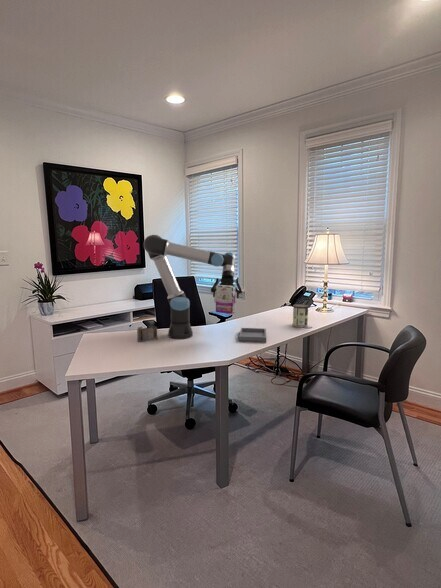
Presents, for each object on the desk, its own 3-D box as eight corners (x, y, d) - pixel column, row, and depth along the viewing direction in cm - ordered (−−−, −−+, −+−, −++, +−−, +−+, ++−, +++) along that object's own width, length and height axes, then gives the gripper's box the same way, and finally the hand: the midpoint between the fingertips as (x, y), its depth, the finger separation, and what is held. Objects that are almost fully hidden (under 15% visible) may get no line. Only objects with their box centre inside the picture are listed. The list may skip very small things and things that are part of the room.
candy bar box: (235, 312, 214) (236, 285, 210) (232, 314, 209) (232, 287, 206) (218, 310, 218) (218, 284, 215) (215, 312, 213) (215, 285, 210)
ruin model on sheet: (139, 343, 205) (138, 326, 203) (137, 341, 208) (137, 325, 206) (157, 340, 210) (157, 324, 209) (156, 339, 213) (155, 323, 211)
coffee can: (301, 322, 253) (302, 303, 251) (310, 326, 244) (311, 306, 242) (289, 324, 250) (290, 304, 247) (297, 327, 240) (298, 307, 238)
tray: (239, 341, 208) (239, 336, 208) (241, 332, 228) (241, 327, 227) (266, 342, 206) (266, 337, 206) (265, 333, 226) (266, 328, 225)
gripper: (247, 277, 225) (245, 305, 212) (209, 276, 227) (206, 304, 215) (247, 270, 219) (245, 298, 206) (208, 269, 221) (204, 297, 209)
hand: (225, 301), depth 211 cm, fingers closed on candy bar box, 12 cm apart
